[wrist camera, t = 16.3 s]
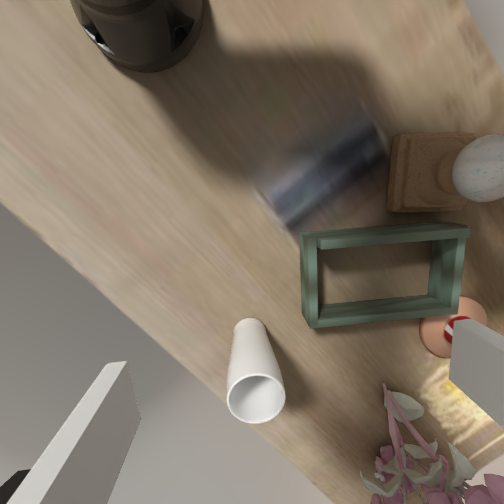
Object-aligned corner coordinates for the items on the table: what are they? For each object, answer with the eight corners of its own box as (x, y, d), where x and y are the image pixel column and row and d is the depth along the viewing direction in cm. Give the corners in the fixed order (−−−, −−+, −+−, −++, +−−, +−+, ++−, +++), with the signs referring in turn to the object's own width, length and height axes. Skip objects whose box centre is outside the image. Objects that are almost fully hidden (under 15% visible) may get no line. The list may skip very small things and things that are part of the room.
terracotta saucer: (421, 298, 45) (426, 301, 44) (485, 292, 46) (491, 295, 45) (417, 356, 48) (421, 360, 47) (477, 350, 48) (483, 354, 47)
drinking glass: (277, 336, 45) (297, 405, 31) (243, 356, 46) (247, 434, 31) (255, 304, 44) (266, 362, 29) (220, 326, 44) (213, 393, 30)
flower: (295, 431, 48) (400, 681, 29) (395, 350, 43) (606, 590, 24) (348, 436, 60) (447, 615, 41) (431, 373, 55) (591, 545, 35)
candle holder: (385, 212, 42) (574, 240, 18) (392, 135, 39) (620, 57, 16) (453, 210, 42) (720, 235, 19) (464, 134, 40) (786, 58, 17)
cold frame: (299, 232, 42) (311, 241, 35) (440, 221, 43) (480, 227, 36) (301, 313, 45) (313, 335, 38) (434, 300, 46) (469, 320, 39)
